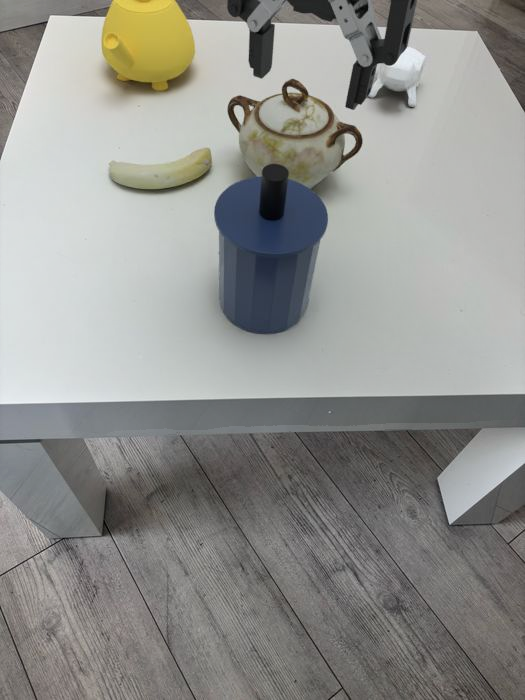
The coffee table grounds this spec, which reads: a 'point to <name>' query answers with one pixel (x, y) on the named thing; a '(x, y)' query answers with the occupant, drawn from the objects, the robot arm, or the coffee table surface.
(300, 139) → the sugar bowl
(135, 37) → the teapot
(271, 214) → the lid
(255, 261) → the pot
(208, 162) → the fruit
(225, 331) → the coffee table surface
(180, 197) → the coffee table surface
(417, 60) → the white animal figurine
